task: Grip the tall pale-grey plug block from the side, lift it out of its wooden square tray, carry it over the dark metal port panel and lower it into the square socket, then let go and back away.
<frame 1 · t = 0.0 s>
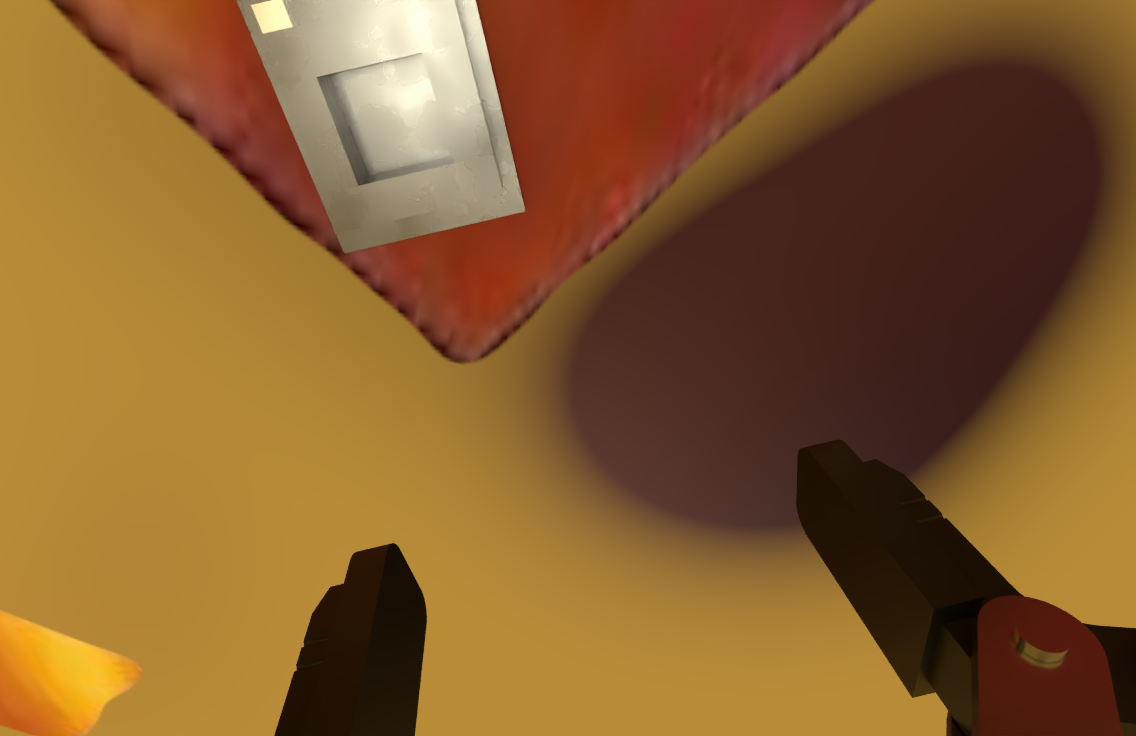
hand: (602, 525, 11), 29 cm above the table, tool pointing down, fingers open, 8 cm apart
port: (399, 114, 33), on the table
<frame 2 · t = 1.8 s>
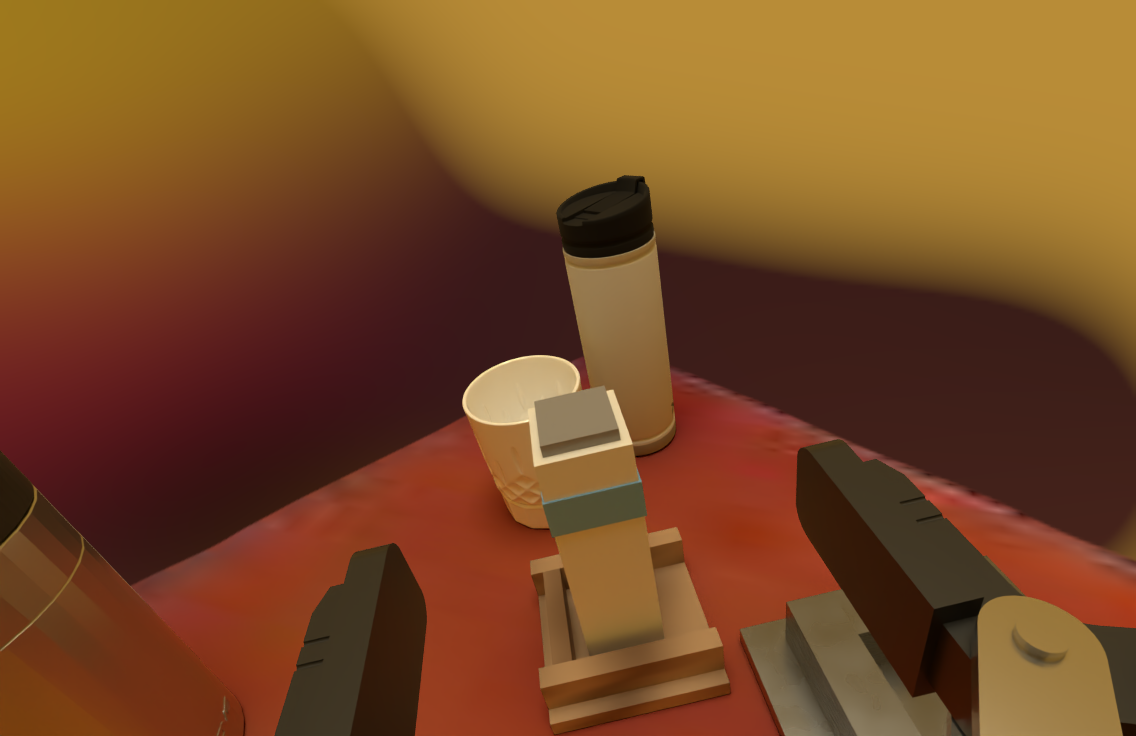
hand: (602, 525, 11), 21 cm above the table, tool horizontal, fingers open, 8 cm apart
port: (945, 729, 25), on the table
wooden square tray: (623, 631, 31), on the table
plug: (621, 620, 31), point 1 cm above the table, touching wooden square tray
travel mug: (639, 432, 46), on the table
white cup: (551, 497, 42), on the table
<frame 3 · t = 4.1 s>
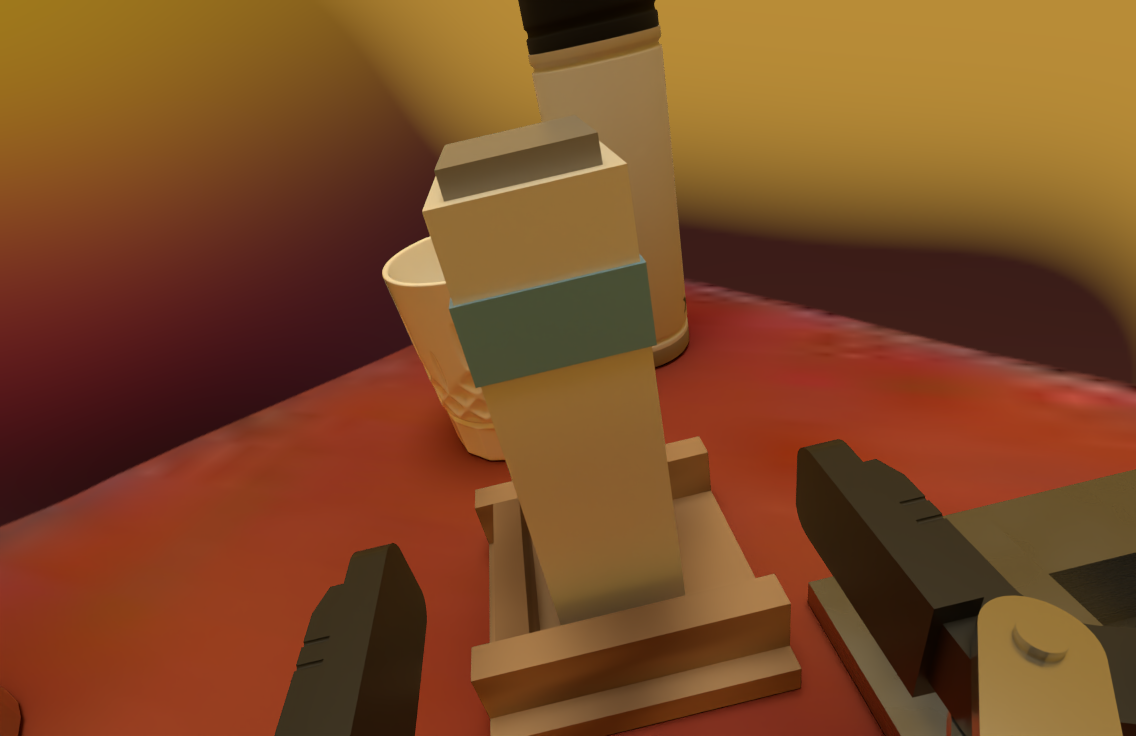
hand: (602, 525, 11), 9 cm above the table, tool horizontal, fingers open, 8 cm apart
wooden square tray: (618, 593, 20), on the table
plug: (614, 575, 19), point 1 cm above the table, touching wooden square tray
travel mug: (640, 347, 35), on the table
white cup: (520, 423, 30), on the table
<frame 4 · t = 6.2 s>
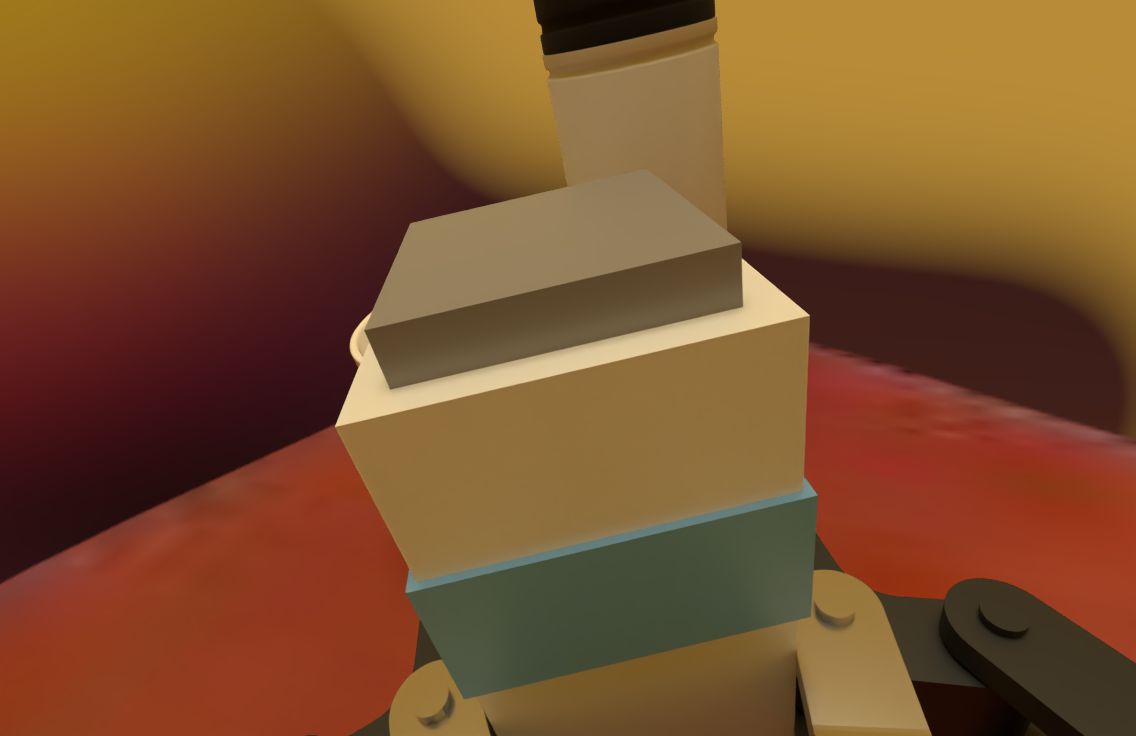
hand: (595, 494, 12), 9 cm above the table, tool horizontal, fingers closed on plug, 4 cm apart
travel mug: (674, 408, 29), on the table
white cup: (530, 514, 24), on the table
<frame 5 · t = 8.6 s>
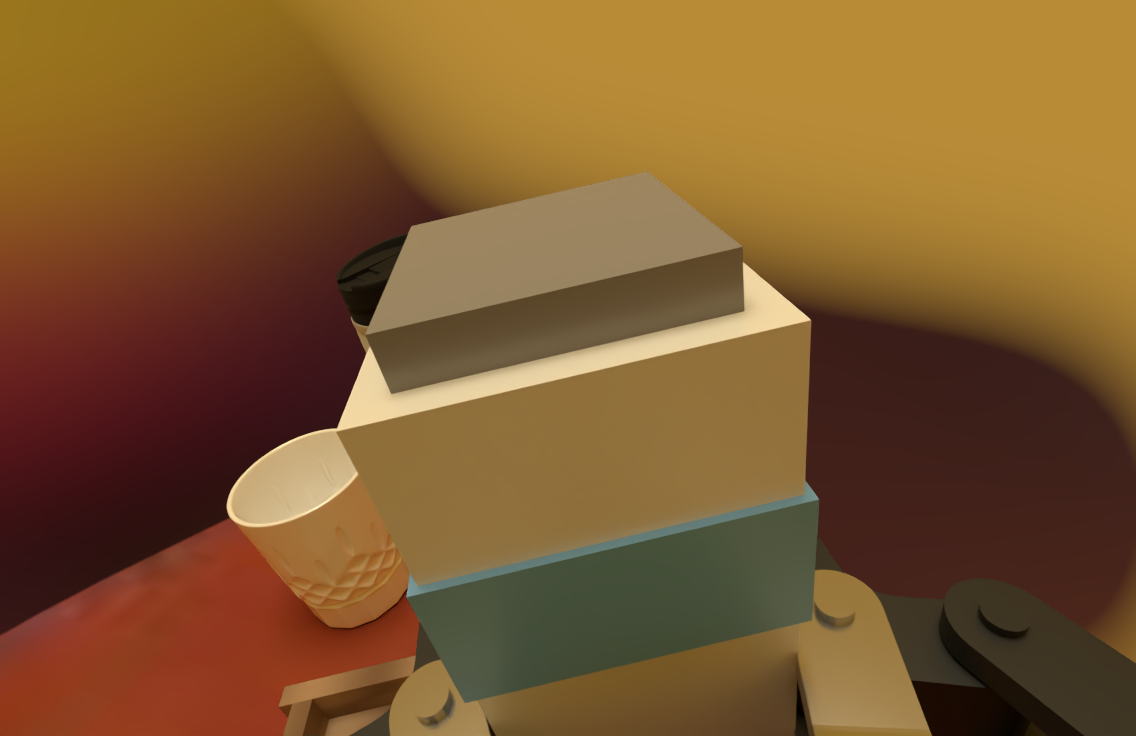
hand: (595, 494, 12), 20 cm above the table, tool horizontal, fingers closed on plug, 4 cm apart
travel mug: (484, 503, 41), on the table
white cup: (367, 584, 37), on the table
when the fingers open (10 cm above the table, at t = 11.2 s): plug drops 1 cm, resting on port.
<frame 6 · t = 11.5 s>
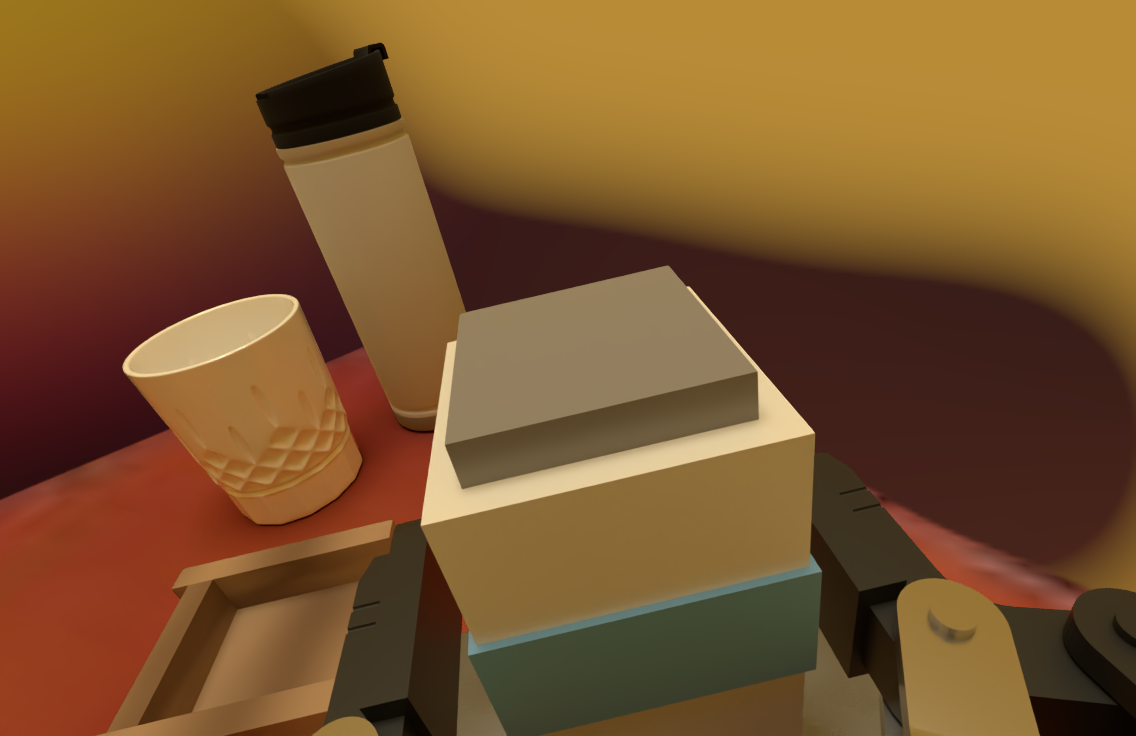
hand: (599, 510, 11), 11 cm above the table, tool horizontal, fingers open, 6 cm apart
wooden square tray: (292, 671, 21), on the table
travel mug: (447, 403, 36), on the table
white cup: (306, 484, 32), on the table
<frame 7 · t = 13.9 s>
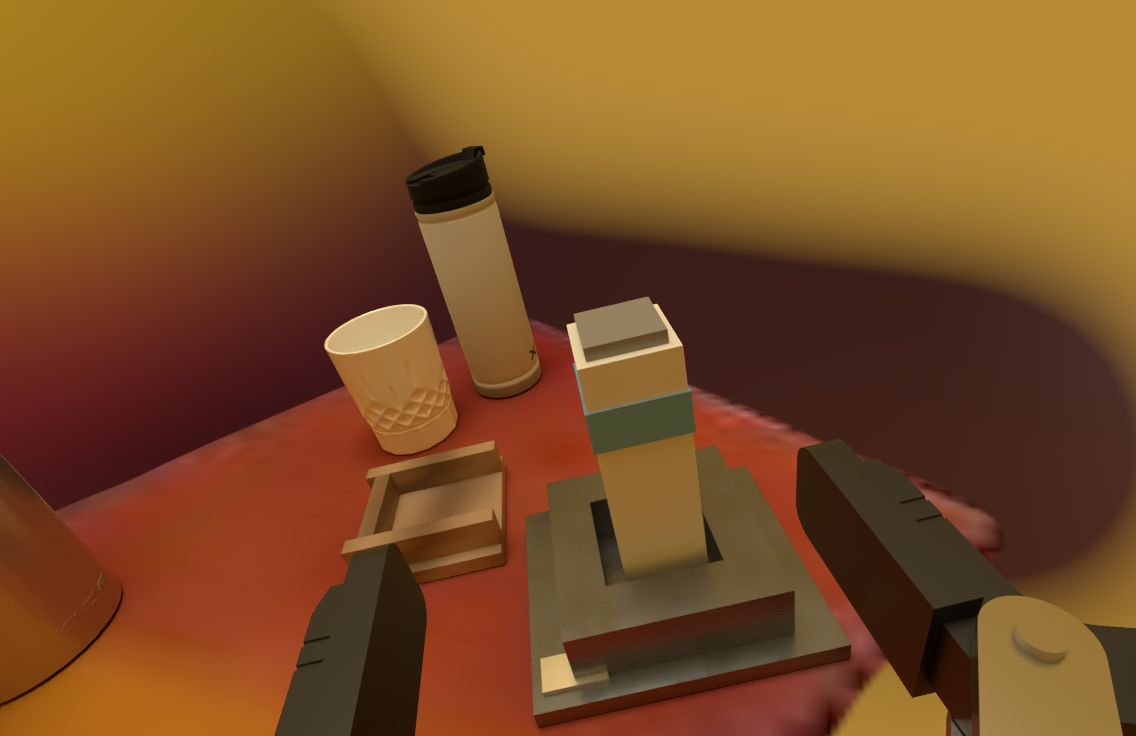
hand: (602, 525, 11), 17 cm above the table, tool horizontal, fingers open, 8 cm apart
port: (660, 581, 30), on the table
wooden square tray: (439, 525, 37), on the table
plug: (661, 567, 29), point 1 cm above the table, touching port
travel mug: (511, 381, 51), on the table
white cup: (421, 432, 47), on the table
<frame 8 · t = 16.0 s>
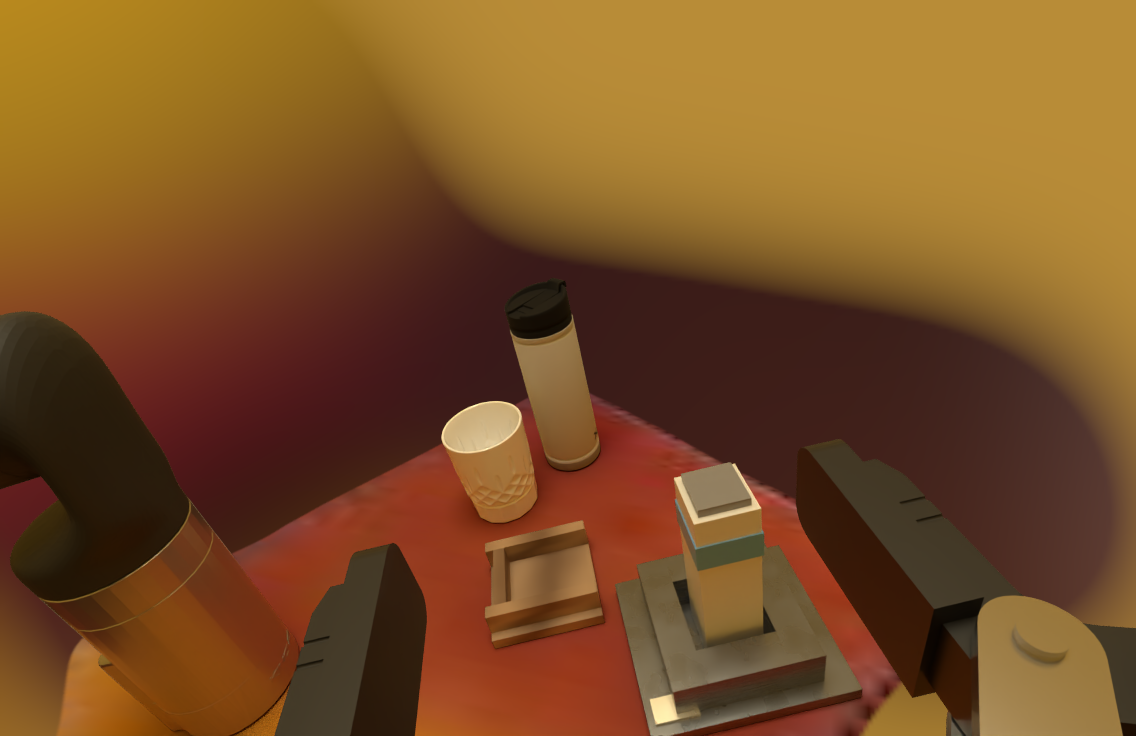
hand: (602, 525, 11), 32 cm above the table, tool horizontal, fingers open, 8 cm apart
port: (723, 638, 41), on the table
wooden square tray: (544, 588, 48), on the table
plug: (725, 628, 41), point 1 cm above the table, touching port
travel mug: (574, 453, 63), on the table
white cup: (507, 500, 58), on the table
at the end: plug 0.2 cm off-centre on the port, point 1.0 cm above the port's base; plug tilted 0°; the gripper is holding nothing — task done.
